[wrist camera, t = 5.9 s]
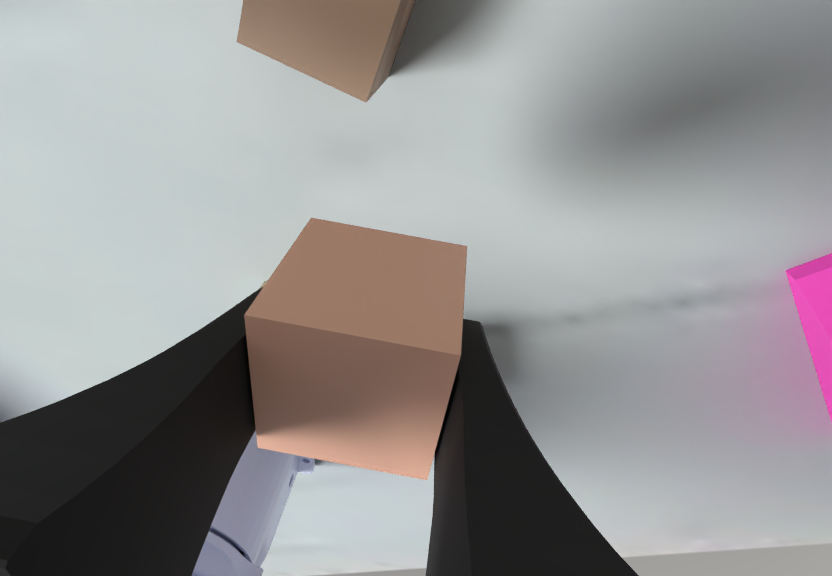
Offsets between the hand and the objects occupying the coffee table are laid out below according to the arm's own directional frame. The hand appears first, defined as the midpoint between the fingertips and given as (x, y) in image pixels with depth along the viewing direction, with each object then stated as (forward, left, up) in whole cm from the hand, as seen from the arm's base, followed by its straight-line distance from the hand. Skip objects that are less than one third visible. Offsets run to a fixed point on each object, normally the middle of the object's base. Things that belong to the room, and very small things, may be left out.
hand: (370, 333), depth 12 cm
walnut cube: (+7, +3, -10) cm, 12 cm away
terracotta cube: (0, 0, -2) cm, 2 cm away
